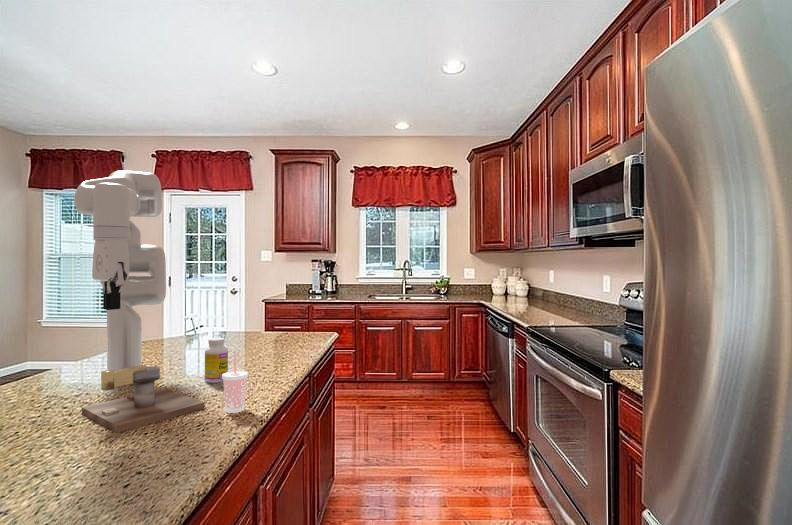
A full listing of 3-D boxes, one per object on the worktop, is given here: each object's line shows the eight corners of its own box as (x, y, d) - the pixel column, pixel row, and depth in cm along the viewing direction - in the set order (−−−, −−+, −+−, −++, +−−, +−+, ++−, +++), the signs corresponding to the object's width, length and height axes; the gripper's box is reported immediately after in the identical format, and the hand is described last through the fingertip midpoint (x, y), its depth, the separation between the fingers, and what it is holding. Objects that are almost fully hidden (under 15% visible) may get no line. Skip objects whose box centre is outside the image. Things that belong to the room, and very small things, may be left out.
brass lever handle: (110, 392, 99) (110, 374, 99) (93, 387, 103) (93, 370, 103) (165, 378, 111) (165, 362, 111) (149, 375, 114) (149, 359, 114)
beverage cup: (232, 415, 107) (232, 357, 106) (216, 411, 110) (216, 354, 110) (253, 408, 112) (253, 352, 112) (237, 404, 115) (237, 350, 115)
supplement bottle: (219, 384, 133) (219, 341, 133) (199, 382, 135) (199, 340, 134) (232, 378, 140) (232, 337, 140) (213, 377, 141) (213, 336, 141)
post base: (81, 413, 108) (81, 384, 108) (165, 393, 124) (165, 368, 124) (116, 432, 96) (116, 400, 96) (204, 408, 112) (204, 380, 112)
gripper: (82, 234, 111) (82, 308, 111) (107, 233, 102) (107, 313, 102) (115, 235, 117) (115, 305, 117) (142, 234, 108) (142, 310, 108)
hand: (111, 309), depth 109 cm, fingers closed
